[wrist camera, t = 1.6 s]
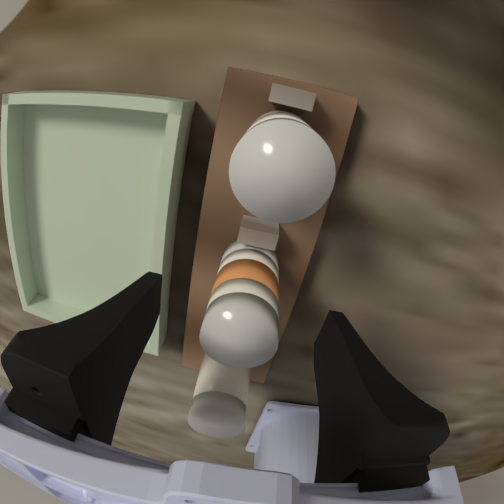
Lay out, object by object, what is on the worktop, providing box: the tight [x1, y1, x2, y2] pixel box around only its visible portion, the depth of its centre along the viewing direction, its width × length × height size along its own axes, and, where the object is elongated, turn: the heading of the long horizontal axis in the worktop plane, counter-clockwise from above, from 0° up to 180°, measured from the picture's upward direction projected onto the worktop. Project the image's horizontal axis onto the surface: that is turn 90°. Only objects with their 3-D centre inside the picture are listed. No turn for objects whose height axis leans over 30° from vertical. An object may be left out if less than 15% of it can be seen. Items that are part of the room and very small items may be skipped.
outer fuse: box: [229, 110, 336, 223], centre depth 11 cm, size 3×3×6 cm
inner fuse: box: [188, 352, 251, 438], centre depth 18 cm, size 3×3×6 cm
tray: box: [1, 90, 195, 356], centre depth 17 cm, size 15×11×2 cm
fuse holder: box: [181, 67, 358, 383], centre depth 17 cm, size 19×6×2 cm, turn 168°
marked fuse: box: [199, 240, 279, 368], centre depth 15 cm, size 3×3×6 cm
